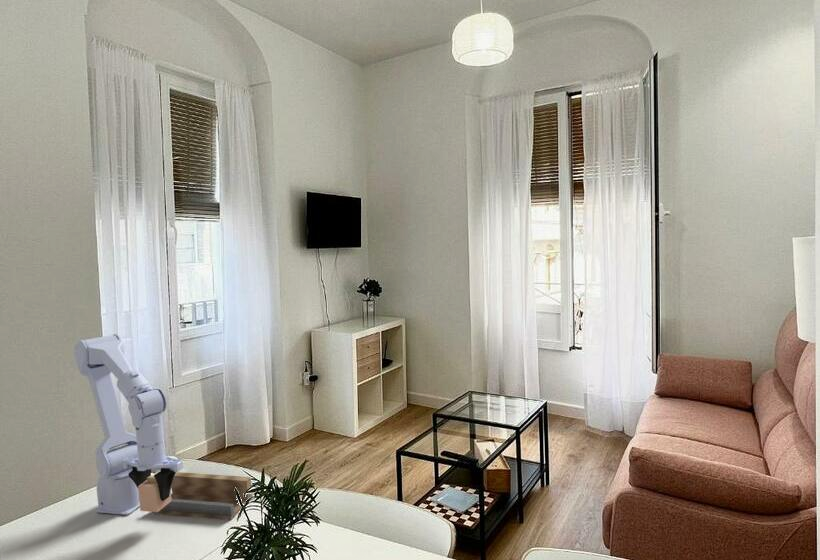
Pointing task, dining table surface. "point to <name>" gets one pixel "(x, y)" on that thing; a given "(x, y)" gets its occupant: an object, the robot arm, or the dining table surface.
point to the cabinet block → (151, 496)
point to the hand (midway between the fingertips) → (155, 497)
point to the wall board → (208, 491)
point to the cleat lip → (200, 507)
